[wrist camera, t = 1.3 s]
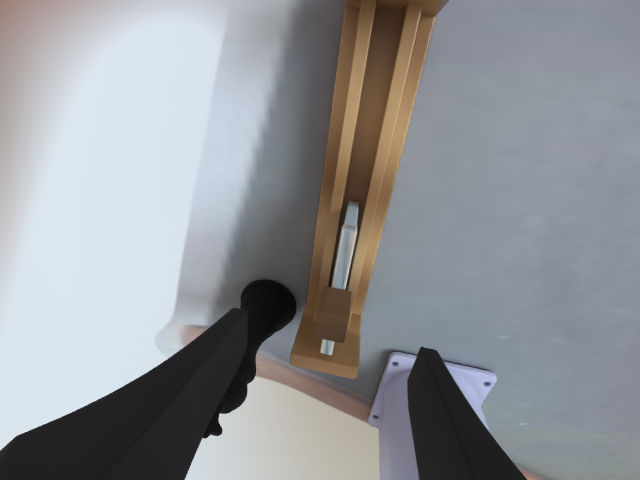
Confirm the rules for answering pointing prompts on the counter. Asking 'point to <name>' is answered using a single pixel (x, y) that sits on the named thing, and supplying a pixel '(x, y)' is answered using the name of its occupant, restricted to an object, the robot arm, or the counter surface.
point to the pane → (338, 288)
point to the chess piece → (255, 339)
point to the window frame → (363, 156)
